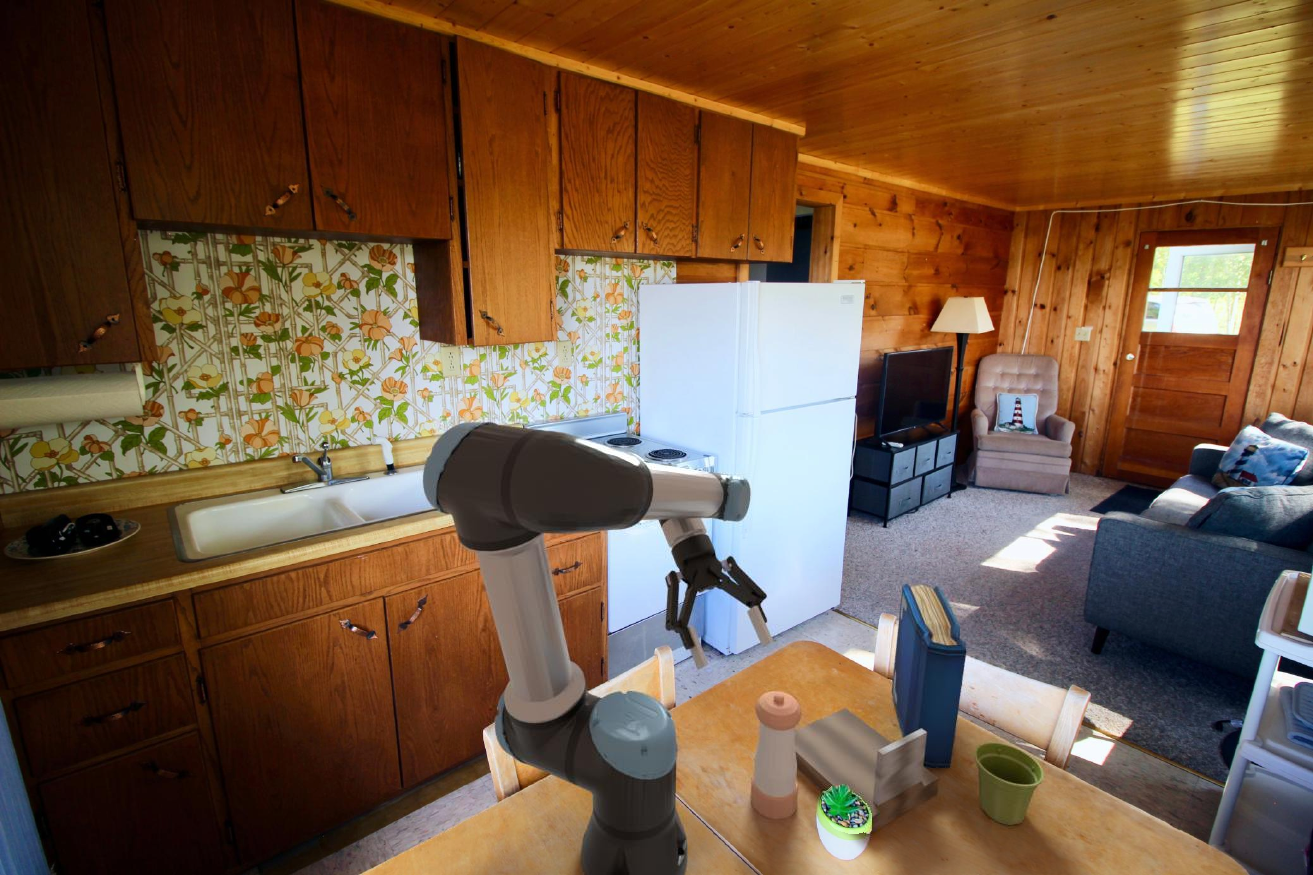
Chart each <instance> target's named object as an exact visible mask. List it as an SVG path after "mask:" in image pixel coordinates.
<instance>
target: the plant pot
mask: <svg viewBox="0 0 1313 875" xmlns="http://www.w3.org/2000/svg"><path fill="white" fill-rule="evenodd" d="M973 757H974V760H975V762H976V767H977V768H978V769H977V770H978V789H979V792H978V793H979V796H978V797H979V806H980V808H981V809H982V810H983V811H984V812H985V814H987V816H988V817H989V818H990V819H992V820H994V821H996V822H997V823H1000V824H1003V825H1007V826H1014V825H1017V824H1022V823H1023V821H1024V820H1025V817H1026V814H1027V811H1028V809H1029V806H1030V803H1031V800H1032V798H1033V794H1034V792H1035V790H1036V789H1037V788H1038V786H1040V784H1042V783H1043V781H1044V779H1045V773H1044V769H1043V766H1041V764H1040V763H1039V762H1038V760H1037V759H1035V758H1034V757H1033V756H1032V755H1031V754H1029V753H1028V752H1026V751H1024V750H1023V749H1020V748H1018V747H1016V746H1013V745H1010V744H1008V743H1005V742H997V741H986V742H981V743H979V744H978V745H977V746H976V747H975V748H974V751H973Z"/></svg>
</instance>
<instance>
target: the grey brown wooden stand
mask: <svg viewBox="0 0 1313 875" xmlns="http://www.w3.org/2000/svg"><path fill="white" fill-rule="evenodd" d="M926 737H927V732H926V731H925V730H923V729H922V728H921V729H919V730H917V731H915V732H913V733H911V734H909V735H907V736H906V737H901V738H900V739H898V740H896V741H894V742H892V741H891V740H889V739H887V738H886V737H885V736H884V735H882V734H881V733H879V732H878V731H877V730H875V729H874V728H873V727H871V726H870V725H869V724H868V723H866V722H865V721H863V720H862V719H861V718H859V717H858V716H857V715H856V714H854V713H853V712H851V711H850V710H849V709H848V708H846V707H844V708H842V709H840V710H838V711H836V712H833V713H831V714H829V715H826V716H824V717H823V718H822V717H821V718H820V719H818V720H816V721H813V722H811V723H807V724H806V725H803V726H802V727H799V728H797V729H795V753H796V761H797V771H799V772H800V773H801V774H802V775H804V776H805V778H806V779H808V780H809V782H810V783H811V784H813V785H814V786H815V787H816V788H817V789H818V790H819V791H820V792H821V793H822V792H823V791H826V790H828V789H829V788H830V787H831V786H838V785H842V784H844V785H848V786H849V788H850V790H851V791H853V793H855V794H856V795H858V796H860V797H861V798H862V800H863V801H864V802H865V803H867V805H868V807H870V810H871V813H872V831H871V834H872V833H874V832H876V831H878V830H880V829H881V828H883V827H884V826H886V825H887V824H889V823H891V822H893V821H894V820H896V819H898V818H899V817H901V816H903V815H905V814H907V813H908V812H910V811H912V810H913V809H915V808H917V807H918V806H920V805H921V804H923V803H925V802H927V801H929V800H930V799H931V798H933V797H935V796H936V795H938V792H939V791H938V790H939V784H940V783H939V782H940V777H939V776H937V775H936V774H934V773H933V772H931V771H930V770H929V769H928V768H927V767H925V766H923V763H924V755H925V746H926Z"/></svg>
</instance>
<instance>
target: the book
mask: <svg viewBox="0 0 1313 875" xmlns="http://www.w3.org/2000/svg"><path fill="white" fill-rule="evenodd" d="M898 617H899V618H898V626H897V635H896V644H895V645H896V646H895V655H894V665H893V666H894V667H893V672H892V674H893V675H892V684H891V685H892V686H891V694H892V698H893V699H892V700H893V703H894V707H895V711H896V716H897V720H898V723H899V727H900V730H901V734H902V738H904V737H906V736H907V735H909V734H911V733H913V732H915V731H917V730H919V729H921V728H922V729H923V730H925V731H926V732H927V737H926V746H925V755H924V763H923V766H924V767H925V768H927V769H928V768H929V769H932V770H934V769H951V765H952V759H953V751H954V745H955V737H956V732H957V731H956V730H957V722H958V716H959V715H958V714H959V709H960V702H961V693H962V685H963V679H964V672H965V664H966V660H967V659H966V657H967V651H968V650H967V647H966V642H964V640H963V639H961V637H960V636H961V634H960V633H961V630H960V629H961V627H960V625H959V622H958V620H957V617H956V615H955V613H954V611H953V609H952V607H951V605H950V603H949V601H948V599H947V598H946V595H945V594H944V592H943V590H942V589H941V588H939V587H938V586H937V585H936V586H935V587H934V588H931V587H929V586H925V585H923V584H920V585H919V584H918V585H914V586H910V585H909V584H908V583H905V584H904V585H902V587H901V595H900V606H899V615H898Z"/></svg>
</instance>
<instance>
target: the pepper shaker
mask: <svg viewBox="0 0 1313 875" xmlns="http://www.w3.org/2000/svg"><path fill="white" fill-rule="evenodd" d="M800 705H801V704H799V703H798V701H797V700H796V698H795V697H794V696H792V695H791V694H788V693H786V692H783V691H777V690H776V691H774V690H772V691H767V692H765V693H763V694H762V695H761V696H760V697H759V698H758V699H757V701H756V703H755V706H754V709H755V710H754V711H755V714H756V717H757V719H758V720H759V727H758V728H759V732H758V742H757V746H756V749H755V756H754V758H753V761H754V762H753V767H754V768H753V769H754V770H753V773H752V777H751V781H750V783H751V785H750V787H751V788H750V802H751V805H752V807H753V808H754V809H755V810H756V811H757V813H759V814H760V815H762V816H763V817H766V818H769V819H773V820H782V819H787V818H789V817H791V816H793V814H794V813H795V811H796V810H797V806H798V795H799V794H798V792H799V785H798V784H799V783H798V781H797V773H798V769H797V761H796V753H795V730H796V727H797V725H799V722H800V721H801V719H802V717H803V716H802V715H803V714H802V709H801V706H800Z"/></svg>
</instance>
